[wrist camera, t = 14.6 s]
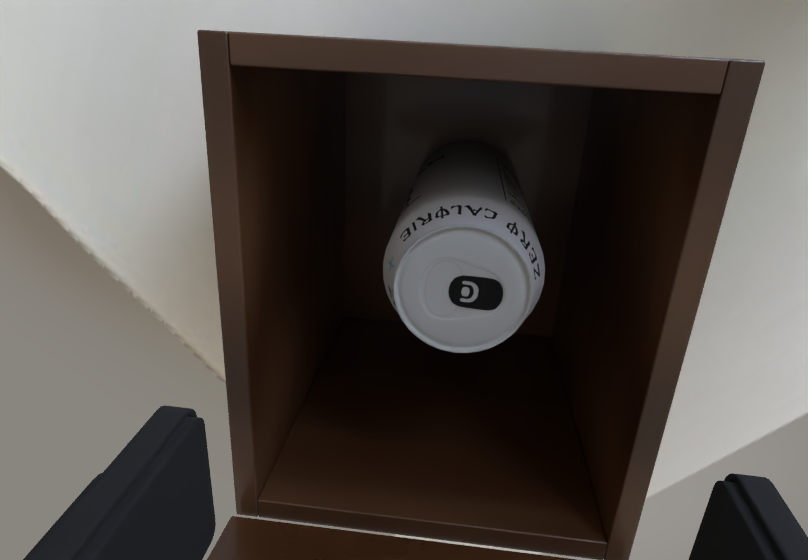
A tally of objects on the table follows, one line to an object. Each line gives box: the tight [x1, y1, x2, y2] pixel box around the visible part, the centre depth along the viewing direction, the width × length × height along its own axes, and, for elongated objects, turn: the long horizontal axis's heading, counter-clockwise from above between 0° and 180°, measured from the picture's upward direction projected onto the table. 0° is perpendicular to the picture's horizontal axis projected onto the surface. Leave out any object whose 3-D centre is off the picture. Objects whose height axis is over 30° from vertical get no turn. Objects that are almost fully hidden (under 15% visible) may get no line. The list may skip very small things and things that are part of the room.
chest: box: [198, 30, 765, 560], centre depth 27 cm, size 18×15×17 cm
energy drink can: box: [383, 142, 545, 353], centre depth 27 cm, size 6×6×15 cm
